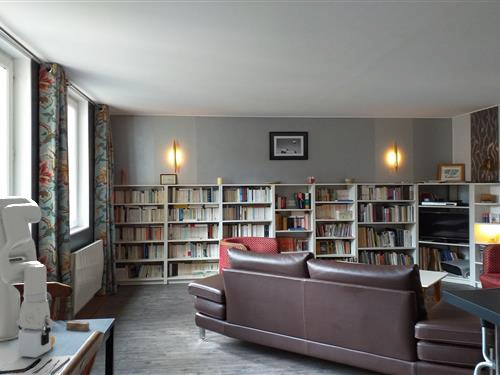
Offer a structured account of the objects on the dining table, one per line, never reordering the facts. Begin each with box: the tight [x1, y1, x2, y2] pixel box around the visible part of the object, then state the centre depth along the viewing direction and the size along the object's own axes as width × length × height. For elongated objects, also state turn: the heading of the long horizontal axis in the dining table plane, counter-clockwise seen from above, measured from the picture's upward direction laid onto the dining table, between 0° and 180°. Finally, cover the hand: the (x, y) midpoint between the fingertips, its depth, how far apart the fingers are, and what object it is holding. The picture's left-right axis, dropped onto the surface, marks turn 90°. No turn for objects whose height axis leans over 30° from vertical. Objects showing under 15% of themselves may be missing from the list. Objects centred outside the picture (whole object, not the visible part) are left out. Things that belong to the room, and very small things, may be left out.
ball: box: [51, 334, 56, 347], centre depth 151 cm, size 5×5×5 cm
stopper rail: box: [66, 320, 90, 331], centre depth 171 cm, size 10×2×3 cm, turn 78°
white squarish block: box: [17, 325, 52, 358], centre depth 145 cm, size 8×8×9 cm
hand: (35, 343), depth 145 cm, fingers closed on white squarish block, 7 cm apart
